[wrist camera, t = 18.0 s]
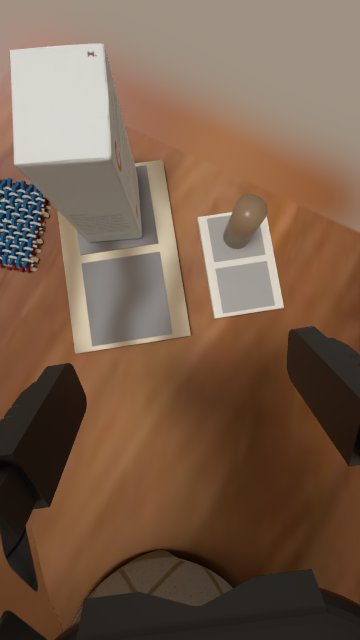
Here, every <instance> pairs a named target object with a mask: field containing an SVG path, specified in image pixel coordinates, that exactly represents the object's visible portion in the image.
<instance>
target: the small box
mask: <svg viewBox="0 0 360 640" xmlns="http://www.w3.org/2000/svg"><path fill="white" fill-rule="evenodd" d="M9 55H10V56H9V57H10V80H11V102H12V127H13V153H14V165H15V166H16V167H17V168H18V169H19V170H20V171H21V172H22V173H23V174H24V175H25V176H26V178H27V179H28V180H29V181H30V182H31V183H32V184H33V185H34V186H35V187H36V188H37V189H38V190H39V191H40V192H41V193H42V194H43V195H44V196H45V197H46V198H47V199H48V200H49V201H50V202H51V203H52V205H53V206H54V207H55V208H56V209H57V210H58V211H59V212H60V213H61V214H62V215H63V216H64V217H65V218H66V219H67V220H68V221H69V222H70V223H71V224H72V225H73V226H74V227H75V228H76V230H77V231H78V232H79V233H80V234H81V235H82V236H83V237H84V238H85V239H86V240H87V241H88V242H100V241H112V240H126V239H137V238H142V226H141V212H140V200H139V187H138V177H137V171H136V167H135V164H134V160H133V156H132V153H131V149H130V145H129V141H128V138H127V133H126V129H125V125H124V121H123V117H122V113H121V109H120V105H119V101H118V97H117V94H116V90H115V86H114V82H113V78H112V74H111V70H110V66H109V62H108V59H107V54H106V51H105V47H104V45H103V44H79V45H78V44H77V45H63V46H50V47H40V48H28V49H19V50H10V52H9Z"/></svg>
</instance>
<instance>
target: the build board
mask: <svg viewBox="0 0 360 640" xmlns="http://www.w3.org/2000/svg"><path fill="white" fill-rule="evenodd" d="M135 167H136V171H137V177H138V187H139V200H140V212H141V226H142V238H137V239H126V240H112V241H100V242H88V241H87V240H86V239H85V238H84V237H83V236H82V235H81V234H80V233H79V232H78V231H77V230H76V228H75V227H74V226H73V225H72V224H71V223H70V222H69V221H68V220H67V219H66V218H65V217H64V216H63V215H62V214H61V213H60V212H59V211H58V210H57V212H58V220H59V228H60V236H61V244H62V252H63V259H64V267H65V275H66V283H67V291H68V299H69V307H70V315H71V323H72V331H73V339H74V347H75V354H77V353H83V352H90V351H96V350H102V349H109V348H115V347H121V346H128V345H134V344H140V343H147V342H153V341H159V340H166V339H172V338H178V337H185V336H191V333H190V327H189V321H188V315H187V308H186V302H185V296H184V290H183V283H182V277H181V271H180V265H179V258H178V252H177V246H176V240H175V233H174V227H173V221H172V215H171V208H170V202H169V196H168V190H167V183H166V177H165V171H164V165H163V160H156V161H149V162H142V163H135Z"/></svg>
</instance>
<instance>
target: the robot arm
mask: <svg viewBox="0 0 360 640" xmlns="http://www.w3.org/2000/svg"><path fill="white" fill-rule="evenodd" d="M287 370H288V374H289V377H290V380H291V381H292V383H293V384H294V386H295V387H296V389H297V390H298V392H299V393H300V395H301V396H302V398H303V399H304V401H305V402H306V404H307V405H308V407H309V408H310V410H311V411H312V413H313V414H314V416H315V417H316V418H317V420H318V421H319V423H320V424H321V426H322V427H323V429H324V430H325V432H326V433H327V435H328V436H329V438H330V439H331V441H332V442H333V444H334V445H335V447H336V448H337V450H338V451H339V453H340V454H341V455H342V457H343V458H344V460H345V461H346V463H347V464H348V466H355V465H360V356H359V354H358V353H357V352H356V351H354V350H353V349H352V348H351V347H350V346H348V345H347V344H345V343H342V342H340V341H338V340H336V339H334V338H327V337H326V336H325V335H324V334H322V333H321V332H320V331H319V330H318V329H317V328H315V327H313V326H311V327H305V328H298V329H292V330H290V332H289V336H288V353H287ZM86 406H87V401H86V395H85V393H84V390H83V388H82V385H81V383H80V381H79V378H78V376H77V374H76V371H75V369H74V367H73V366H72V364H70V363H66V364H60V365H53V366H48V367H46V368H45V370H44V371H43V373H42V374H41V375H40V377H39V378H38V380H37V381H36V382H34V383H33V384H31V385H30V386H29V387H28V388H27V389H26V390H24V391H23V392H22V393H21V394H20V395H19V397H18V398H17V399H16V401H15V402H14V403H13V405H12V408H10V409H9V410H8V412H7V413H6V414H5V416H4V419H2V420H1V421H0V640H360V605H359V604H357V603H355V602H353V601H352V600H350V599H348V598H346V597H344V596H342V595H339V594H337V593H334V592H331V591H329V590H326V589H322V588H319V587H318V585H317V582H316V579H315V577H314V574H313V572H312V569H308V570H300V571H293V572H285V573H278V574H270V575H262V576H255V577H253V578H251V579H249V580H248V581H246V582H244V583H242V584H240V585H238V586H237V587H235V588H233V589H231V590H229V591H227V592H226V593H224V594H222V595H220V596H218V597H216V598H215V599H213V600H211V601H209V602H207V603H206V604H203V605H201V606H192V605H188V604H184V603H180V602H176V601H173V600H169V599H165V598H161V597H157V596H154V595H150V594H146V593H142V592H133V593H126V594H118V595H111V596H103V597H95V598H88V599H84V603H83V608H82V613H81V618H80V621H78V622H77V623H75V624H74V625H72V626H71V627H69V628H68V629H66V630H65V631H64V632H63V630H62V627H61V624H60V621H59V619H58V617H57V614H56V612H55V610H54V608H53V607H52V605H51V603H50V600H49V598H48V595H47V591H46V587H45V583H44V579H43V574H42V570H41V566H40V562H39V557H38V553H37V549H36V545H35V540H34V536H33V532H32V528H31V525H30V523H29V522H28V519H29V517H30V515H31V512H32V510H33V509H39V508H46V507H50V505H51V502H52V500H53V497H54V494H55V492H56V489H57V486H58V484H59V481H60V478H61V476H62V473H63V470H64V468H65V465H66V462H67V460H68V457H69V454H70V452H71V449H72V446H73V444H74V441H75V438H76V436H77V433H78V430H79V428H80V425H81V422H82V419H83V417H84V414H85V411H86Z"/></svg>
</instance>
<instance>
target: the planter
mask: <svg viewBox="0 0 360 640" xmlns="http://www.w3.org/2000/svg"><path fill="white" fill-rule="evenodd" d="M231 589H233V588H232V587H231V586H230V585H229V584H228V583H227V582H226V581H225V580H224V579H223V578H221V577H220V576H218V575H217V574H216V573H214V572H212V571H211V570H209V569H207V568H205V567H203V566H201V565H198V564H196V563H193V562H190V561H186V560H183V559H180V558H177V557H175V556H173V555H172V554H171V553H169V552H167V551H165V550H158V551H153V552H150V553H147V554H145V555H142V556H140V557H138V558H136V559H134V560H132V561H131V562H129V563H127V564H126V565H124V566H122V567H121V568H120V569H118V570H117V571H115V572H114V573H113V574H111V575H110V576H109V577H107V578H106V579H105V580H104V581H103V582H102V583H101V584H100V585H99V586H98V587H97V588H96V589H95V590H94V591H93V592H92V593H91V594H90V596H89V597H88V598H95V597H103V596H111V595H118V594H126V593H133V592H142V593H146V594H150V595H154V596H157V597H161V598H165V599H169V600H173V601H176V602H180V603H184V604H188V605H192V606H201V605H203V604H206V603H207V602H209V601H211V600H213V599H215V598H216V597H218V596H220V595H222V594H224V593H226V592H227V591H229V590H231ZM88 598H87V599H88ZM82 608H83V606H82V607H81V609H80V610H79V612H78V614H77V616H76V617H75V619H74V621H73V623H72V625H74V624H75V623H77V622H78V621H80V618H81V613H82Z"/></svg>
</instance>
